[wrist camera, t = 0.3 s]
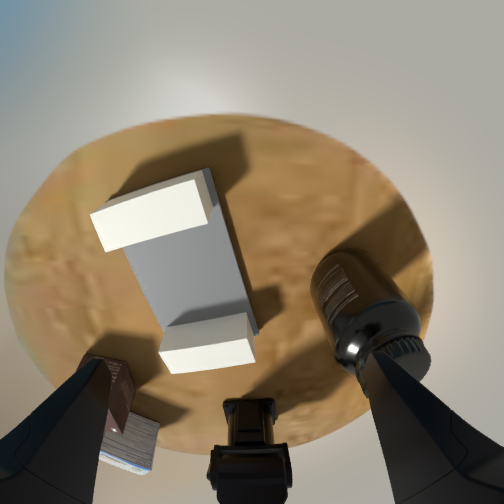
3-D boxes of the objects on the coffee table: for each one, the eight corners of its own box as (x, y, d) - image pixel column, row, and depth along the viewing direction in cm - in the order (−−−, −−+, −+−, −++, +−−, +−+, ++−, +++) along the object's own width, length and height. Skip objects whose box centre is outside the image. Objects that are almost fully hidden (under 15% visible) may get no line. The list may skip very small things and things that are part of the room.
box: (127, 360, 29) (109, 409, 23) (137, 390, 32) (124, 436, 25) (84, 352, 29) (61, 396, 22) (96, 382, 32) (79, 424, 25)
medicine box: (106, 412, 35) (92, 456, 27) (111, 401, 33) (96, 449, 26) (152, 431, 37) (143, 476, 29) (160, 422, 35) (151, 471, 28)
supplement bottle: (320, 319, 27) (354, 422, 16) (298, 264, 24) (334, 371, 14) (383, 292, 26) (441, 382, 15) (370, 233, 23) (447, 318, 13)
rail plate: (258, 330, 27) (261, 361, 24) (174, 345, 28) (167, 374, 24) (209, 166, 21) (202, 176, 17) (107, 200, 21) (84, 216, 18)
